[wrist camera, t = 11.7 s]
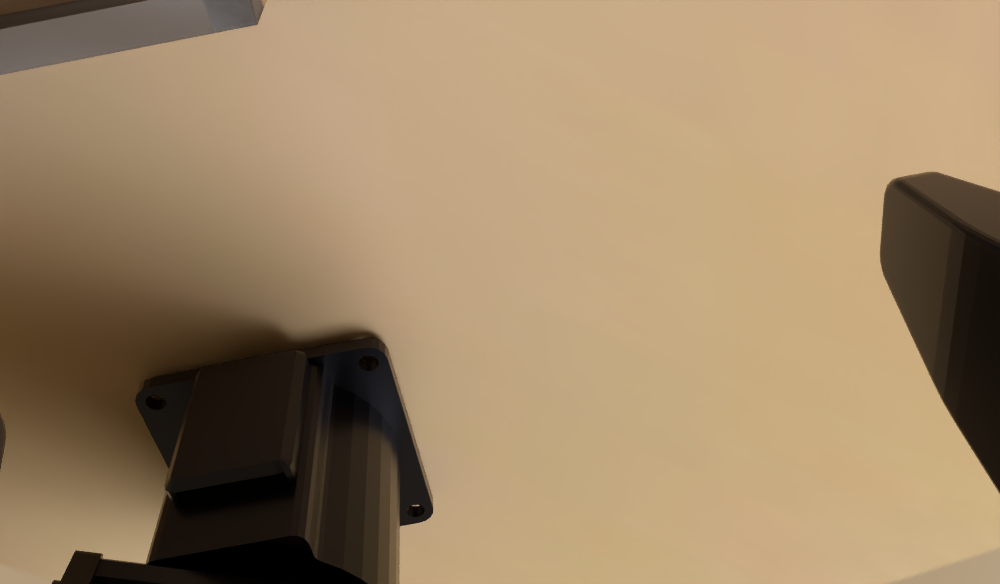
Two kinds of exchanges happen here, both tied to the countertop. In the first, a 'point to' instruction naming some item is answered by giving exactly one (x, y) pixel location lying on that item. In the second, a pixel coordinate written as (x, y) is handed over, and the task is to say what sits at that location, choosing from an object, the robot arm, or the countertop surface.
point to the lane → (108, 26)
